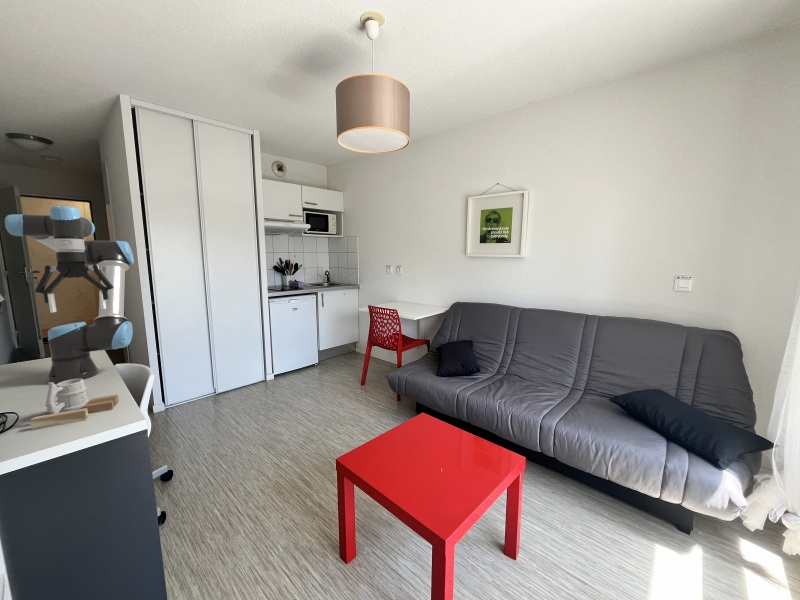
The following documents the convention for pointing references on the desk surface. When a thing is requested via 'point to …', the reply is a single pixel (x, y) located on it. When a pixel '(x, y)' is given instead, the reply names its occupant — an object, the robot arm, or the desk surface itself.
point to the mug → (66, 396)
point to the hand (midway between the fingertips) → (79, 310)
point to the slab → (102, 404)
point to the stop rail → (59, 418)
